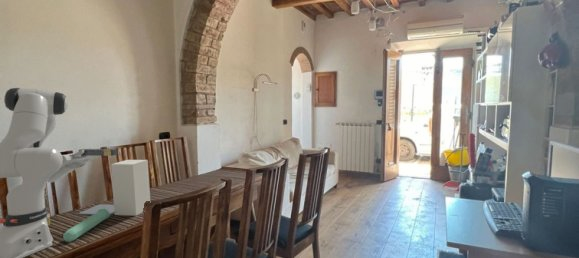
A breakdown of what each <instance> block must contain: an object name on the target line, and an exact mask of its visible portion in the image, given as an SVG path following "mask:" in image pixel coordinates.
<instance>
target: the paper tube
mask: <svg viewBox="0 0 579 258" xmlns="http://www.w3.org/2000/svg"><path fill="white" fill-rule="evenodd" d="M44 200H45V207H46V209H47V216H46V219H47V224H48V227H49V226H50V225H51V214H50V204H49V193H48V182H47V183H46V185H45V190H44Z"/></svg>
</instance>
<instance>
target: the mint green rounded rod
mask: <svg viewBox="0 0 579 258" xmlns="http://www.w3.org/2000/svg"><path fill="white" fill-rule="evenodd" d="M108 218H110V216H109V212H108V211H107V210H106V209H100V210H99V211H98V212H97V213H95V214H93V215H89V216H88V217H87V218H85V219H84V220H82V221H80V222H79V223H77V224H76V225H74V226H72V227H70V228H69V229H67V230H66V231H65V232H64V234H63V235H62V236H63V237H62V238H63V239H62V240H64V241H65V242H74V241H75V240H77V239H78V238H80V237H81V236H83V235H85V234H86V233H88V232H89V231H90V230H92V229H93V228H95V227H96V226H97V225H99V224H101V223H102V222H103V221H106V220H107V219H108Z"/></svg>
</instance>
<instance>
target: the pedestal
mask: <svg viewBox="0 0 579 258" xmlns="http://www.w3.org/2000/svg"><path fill="white" fill-rule="evenodd" d="M110 170H111V182H112V195H113V197H112V199H113V205H114V216H132V217H133V216H135V217H136V216H138V215H140V214H142V213H143V208H144V203H145V202H146V201H150V202H151V191H150V190H151V189H150V174H149V173H150V172H149V161H148V159H126V160H125V159H124V160H122V161H118V162H114V163H112V164H110Z"/></svg>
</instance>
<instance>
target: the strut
mask: <svg viewBox="0 0 579 258" xmlns="http://www.w3.org/2000/svg"><path fill="white" fill-rule="evenodd" d="M81 150H85V153H84V154H82V155H80V156H95V157H96V156H99V157H102V156H105V157H111V156H112V157H113V156H118V154H119V152H118V148H83V149H82V148H81V149H78V152H80V151H81Z"/></svg>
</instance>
